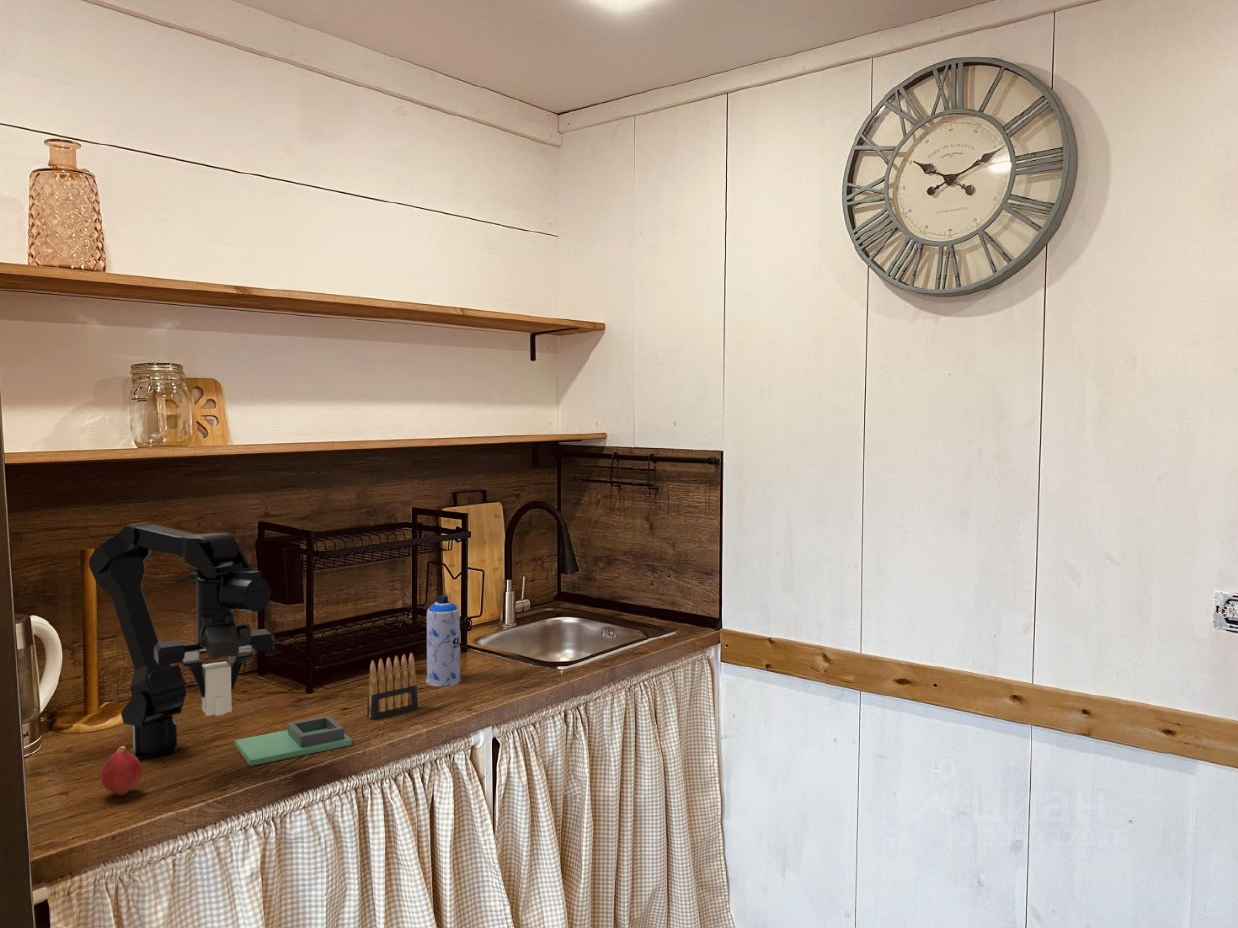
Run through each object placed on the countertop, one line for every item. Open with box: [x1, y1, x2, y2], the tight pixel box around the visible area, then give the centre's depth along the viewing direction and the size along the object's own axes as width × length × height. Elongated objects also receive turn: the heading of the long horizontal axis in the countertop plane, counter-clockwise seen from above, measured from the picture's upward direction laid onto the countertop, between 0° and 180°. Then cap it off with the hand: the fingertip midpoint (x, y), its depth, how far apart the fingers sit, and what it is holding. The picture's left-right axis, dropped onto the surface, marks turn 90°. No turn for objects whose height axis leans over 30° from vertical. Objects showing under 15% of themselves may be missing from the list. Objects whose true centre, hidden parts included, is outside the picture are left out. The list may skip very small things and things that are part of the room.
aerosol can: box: [425, 594, 462, 687], centre depth 208 cm, size 8×8×20 cm
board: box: [234, 715, 353, 767], centre depth 168 cm, size 18×12×3 cm, turn 125°
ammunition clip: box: [366, 652, 419, 721], centre depth 186 cm, size 11×2×12 cm, turn 132°
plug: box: [201, 660, 233, 717], centre depth 157 cm, size 4×7×8 cm, turn 35°
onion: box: [100, 745, 143, 796], centre depth 145 cm, size 6×6×8 cm
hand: (216, 694), depth 157 cm, fingers closed on plug, 4 cm apart
